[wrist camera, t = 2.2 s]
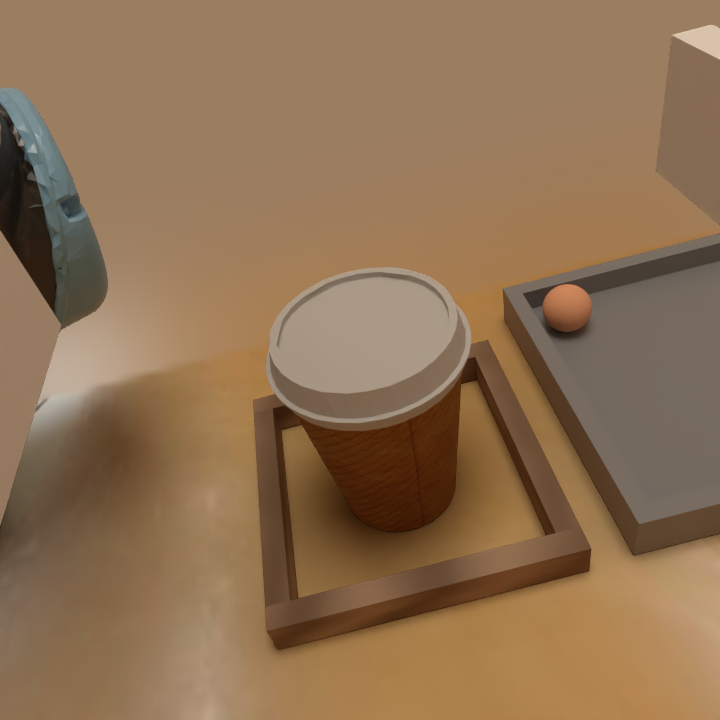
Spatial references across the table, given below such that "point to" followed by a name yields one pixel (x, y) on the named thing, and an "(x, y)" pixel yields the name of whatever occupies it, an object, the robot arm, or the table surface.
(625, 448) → the tray
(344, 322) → the disposable coffee cup
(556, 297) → the ball
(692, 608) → the table surface
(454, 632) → the table surface
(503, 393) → the frame
